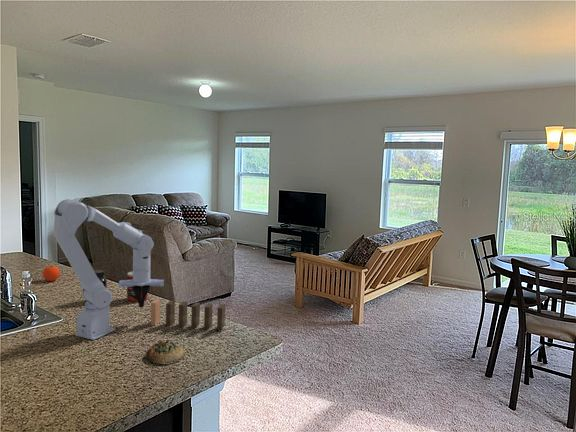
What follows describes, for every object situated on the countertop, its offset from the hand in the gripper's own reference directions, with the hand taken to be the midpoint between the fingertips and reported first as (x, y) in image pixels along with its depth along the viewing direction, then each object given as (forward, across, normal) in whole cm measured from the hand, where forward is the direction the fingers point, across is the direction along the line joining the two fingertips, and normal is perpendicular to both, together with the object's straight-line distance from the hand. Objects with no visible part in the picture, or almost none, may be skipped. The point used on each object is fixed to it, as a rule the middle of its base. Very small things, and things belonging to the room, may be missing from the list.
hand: (141, 306), depth 150 cm
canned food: (+6, -4, +26) cm, 27 cm away
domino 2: (+6, +10, -4) cm, 12 cm away
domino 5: (+6, +22, -8) cm, 25 cm away
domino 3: (+6, +14, -5) cm, 16 cm away
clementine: (+6, -43, +58) cm, 73 cm away
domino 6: (+6, +27, -10) cm, 29 cm away
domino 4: (+6, +18, -7) cm, 20 cm away
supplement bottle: (+6, -19, +26) cm, 32 cm away
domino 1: (+6, +5, -2) cm, 8 cm away
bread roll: (+6, +9, -29) cm, 31 cm away
